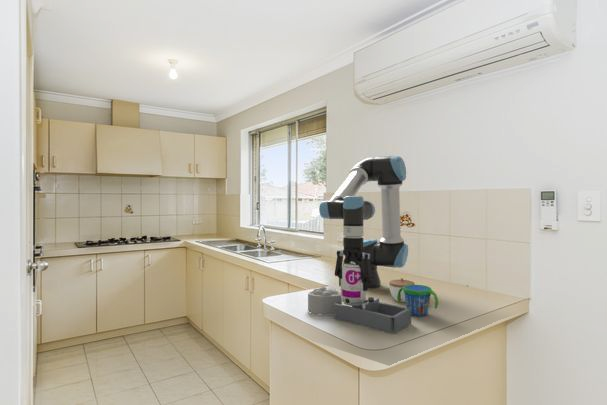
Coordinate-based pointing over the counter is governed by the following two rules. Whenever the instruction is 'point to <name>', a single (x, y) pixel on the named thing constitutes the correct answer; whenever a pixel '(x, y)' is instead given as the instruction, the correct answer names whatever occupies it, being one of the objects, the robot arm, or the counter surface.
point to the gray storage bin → (376, 317)
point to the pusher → (371, 305)
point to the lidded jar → (397, 285)
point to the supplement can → (351, 284)
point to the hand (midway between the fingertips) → (353, 297)
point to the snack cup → (418, 298)
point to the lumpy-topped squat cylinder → (323, 300)
